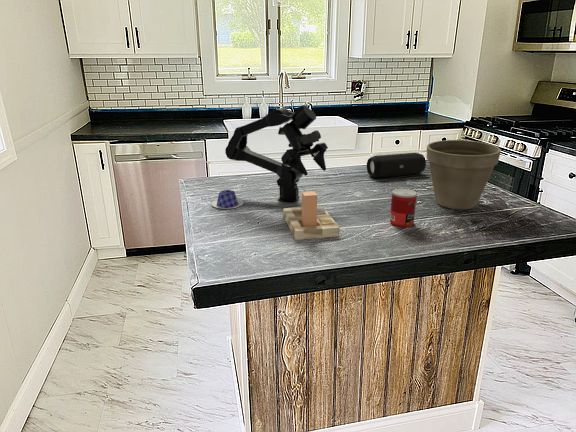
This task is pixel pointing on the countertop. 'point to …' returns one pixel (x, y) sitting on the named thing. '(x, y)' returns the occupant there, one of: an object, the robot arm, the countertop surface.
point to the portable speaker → (396, 165)
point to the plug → (309, 209)
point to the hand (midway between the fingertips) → (316, 172)
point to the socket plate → (322, 230)
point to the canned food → (403, 207)
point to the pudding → (227, 200)
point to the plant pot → (460, 171)
